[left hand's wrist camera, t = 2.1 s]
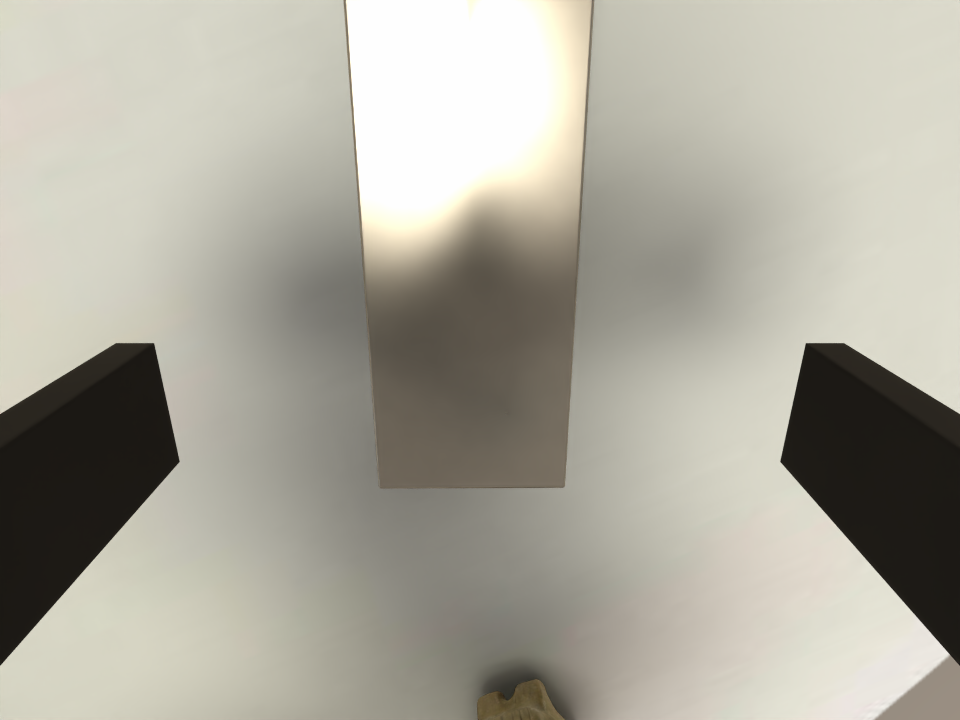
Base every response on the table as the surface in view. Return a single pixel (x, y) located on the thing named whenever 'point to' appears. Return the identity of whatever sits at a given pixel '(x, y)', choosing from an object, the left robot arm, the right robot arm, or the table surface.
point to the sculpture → (518, 704)
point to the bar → (470, 231)
